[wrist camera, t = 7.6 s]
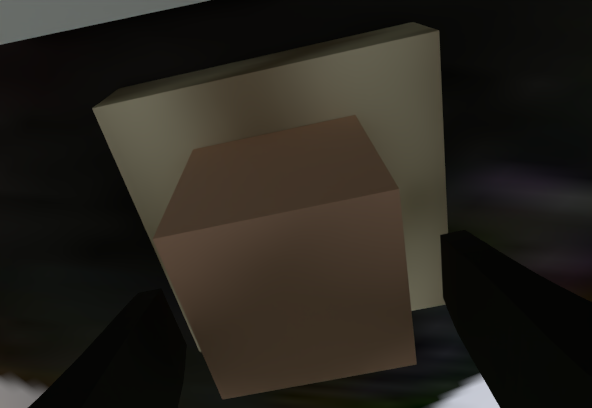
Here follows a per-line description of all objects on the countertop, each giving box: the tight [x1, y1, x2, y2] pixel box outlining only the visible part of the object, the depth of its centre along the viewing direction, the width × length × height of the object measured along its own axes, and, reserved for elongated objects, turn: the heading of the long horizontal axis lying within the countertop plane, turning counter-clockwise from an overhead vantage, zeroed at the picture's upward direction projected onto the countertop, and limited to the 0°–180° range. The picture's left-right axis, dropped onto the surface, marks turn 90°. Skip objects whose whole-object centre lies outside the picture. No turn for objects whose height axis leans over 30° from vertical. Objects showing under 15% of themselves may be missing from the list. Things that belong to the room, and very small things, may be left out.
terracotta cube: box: [153, 115, 417, 399], centre depth 12 cm, size 5×5×5 cm
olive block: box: [92, 22, 448, 352], centre depth 16 cm, size 10×10×3 cm
